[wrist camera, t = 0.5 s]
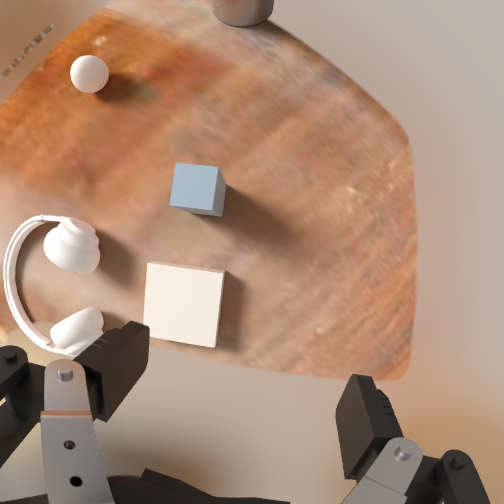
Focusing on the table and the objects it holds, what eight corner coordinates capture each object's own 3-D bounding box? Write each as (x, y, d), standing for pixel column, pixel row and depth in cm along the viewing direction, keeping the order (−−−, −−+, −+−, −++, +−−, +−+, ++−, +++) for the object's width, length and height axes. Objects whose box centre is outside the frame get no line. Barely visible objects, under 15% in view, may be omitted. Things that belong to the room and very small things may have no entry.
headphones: (111, 212, 37) (19, 217, 39) (75, 208, 29) (-16, 216, 31) (117, 355, 38) (26, 333, 40) (87, 377, 30) (-6, 345, 32)
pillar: (190, 212, 37) (169, 205, 27) (195, 181, 37) (176, 162, 27) (222, 216, 37) (212, 210, 27) (226, 184, 37) (218, 166, 27)
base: (155, 260, 37) (147, 262, 34) (225, 270, 37) (223, 273, 34) (150, 328, 38) (142, 334, 35) (217, 339, 38) (214, 347, 35)
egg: (122, 75, 36) (102, 51, 29) (100, 104, 36) (77, 84, 29) (99, 65, 36) (78, 43, 28) (79, 93, 36) (55, 73, 29)
